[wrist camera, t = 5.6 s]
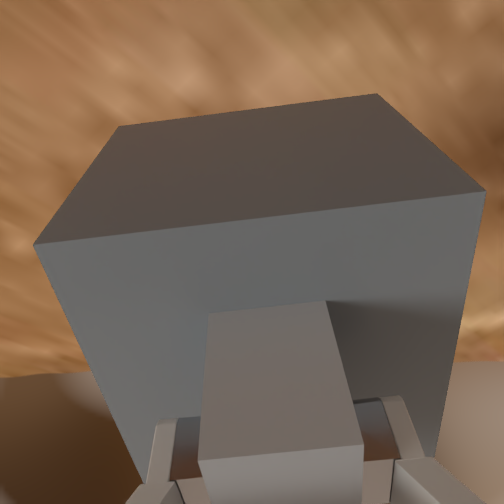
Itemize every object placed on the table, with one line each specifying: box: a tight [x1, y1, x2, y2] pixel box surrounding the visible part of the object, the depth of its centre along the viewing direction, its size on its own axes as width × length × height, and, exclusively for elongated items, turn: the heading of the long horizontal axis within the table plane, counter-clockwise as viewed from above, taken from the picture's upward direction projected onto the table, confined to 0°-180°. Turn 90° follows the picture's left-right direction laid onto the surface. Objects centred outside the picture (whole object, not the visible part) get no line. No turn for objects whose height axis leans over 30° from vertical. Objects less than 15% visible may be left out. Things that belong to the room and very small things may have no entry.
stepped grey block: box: [33, 93, 487, 504], centre depth 15 cm, size 10×10×13 cm
